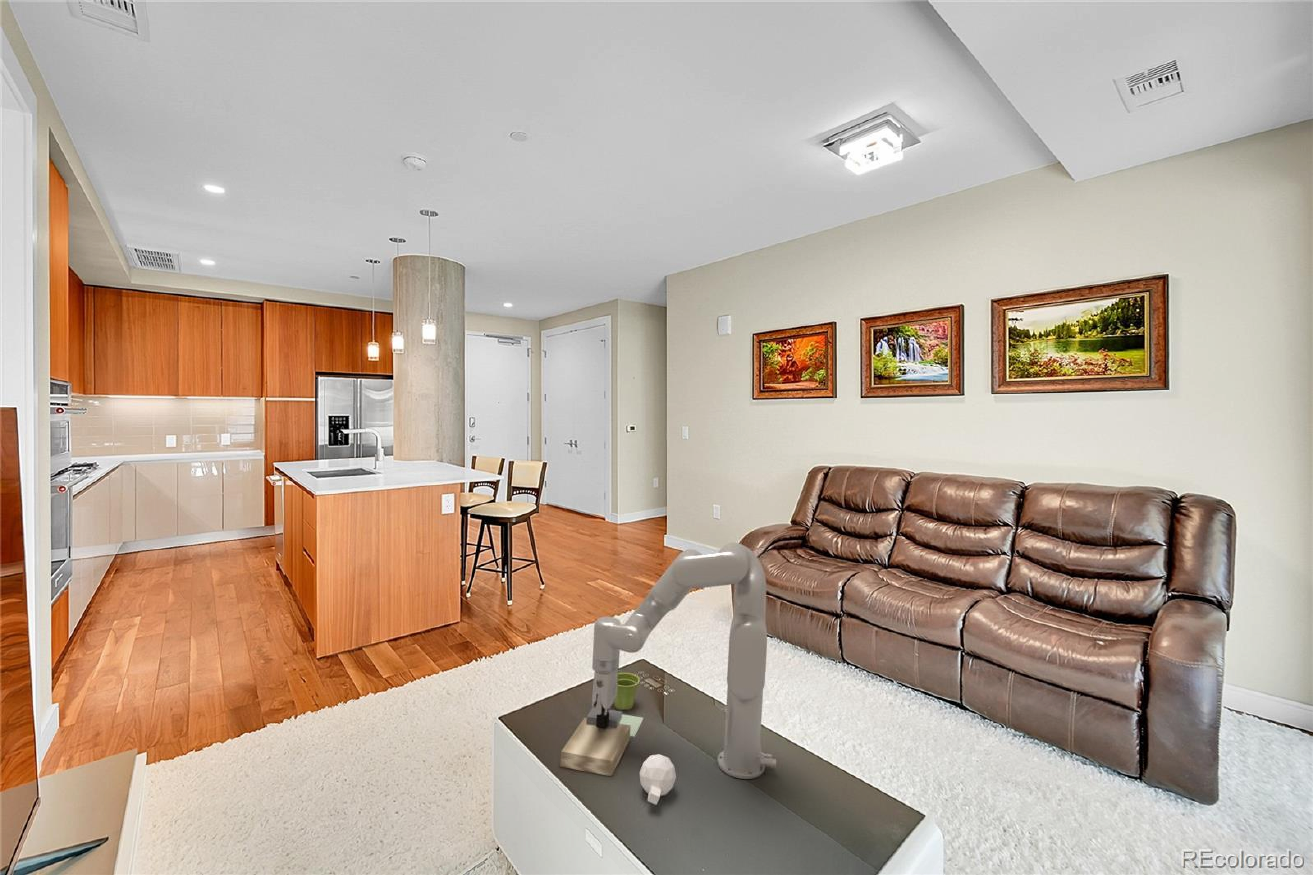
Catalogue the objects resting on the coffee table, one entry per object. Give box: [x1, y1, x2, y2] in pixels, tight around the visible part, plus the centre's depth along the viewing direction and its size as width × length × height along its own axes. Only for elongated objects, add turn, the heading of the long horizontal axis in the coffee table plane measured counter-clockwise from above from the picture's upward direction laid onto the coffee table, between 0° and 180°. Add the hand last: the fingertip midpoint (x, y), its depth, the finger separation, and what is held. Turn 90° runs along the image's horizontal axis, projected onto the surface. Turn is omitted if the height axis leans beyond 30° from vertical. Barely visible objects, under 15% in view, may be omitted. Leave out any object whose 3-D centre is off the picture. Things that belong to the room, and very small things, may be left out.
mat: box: [619, 713, 644, 738], centre depth 170 cm, size 16×11×1 cm
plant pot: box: [613, 672, 641, 711], centre depth 181 cm, size 9×9×9 cm
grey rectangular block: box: [586, 706, 623, 728], centre depth 163 cm, size 9×6×2 cm, turn 79°
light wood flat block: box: [560, 717, 631, 777], centre depth 154 cm, size 14×18×4 cm
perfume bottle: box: [639, 753, 677, 805], centre depth 137 cm, size 9×9×12 cm
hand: (602, 726), depth 159 cm, fingers closed
